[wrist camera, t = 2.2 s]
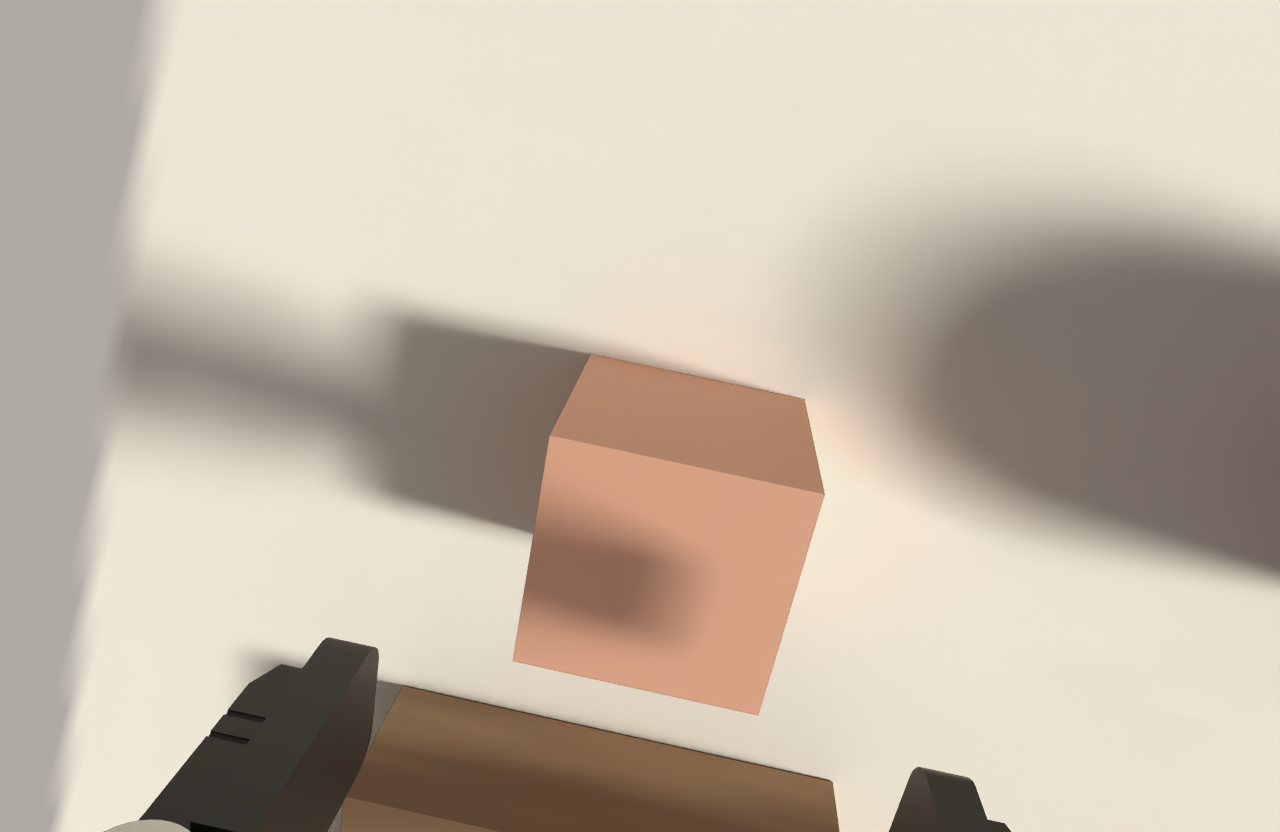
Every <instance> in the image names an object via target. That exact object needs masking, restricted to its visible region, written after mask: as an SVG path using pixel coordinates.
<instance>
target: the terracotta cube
mask: <svg viewBox="0 0 1280 832" xmlns="http://www.w3.org/2000/svg"><path fill="white" fill-rule="evenodd" d="M824 495H825V493H824V489H823V484H822V479H821V475H820V470H819V465H818V461H817V456H816V451H815V446H814V442H813V437H812V432H811V428H810V423H809V418H808V414H807V409H806V404H805V399H800V398H795V397H791V396H786V395H781V394H776V393H772V392H767V391H762V390H758V389H753V388H748V387H744V386H739V385H734V384H730V383H725V382H720V381H715V380H711V379H706V378H701V377H697V376H692V375H687V374H683V373H678V372H673V371H668V370H664V369H659V368H654V367H650V366H645V365H640V364H636V363H631V362H626V361H622V360H617V359H612V358H607V357H603V356H598V355H593V354H591V355H590V357H589V359H588V361H587V363H586V365H585V367H584V369H583V371H582V373H581V375H580V377H579V379H578V381H577V383H576V385H575V387H574V388H573V390H572V392H571V394H570V396H569V398H568V400H567V402H566V404H565V406H564V408H563V410H562V412H561V414H560V416H559V418H558V420H557V422H556V424H555V426H554V428H553V430H552V432H551V434H550V436H549V442H548V449H547V455H546V461H545V467H544V473H543V479H542V485H541V491H540V497H539V503H538V509H537V515H536V522H535V528H534V534H533V540H532V546H531V552H530V558H529V564H528V570H527V576H526V582H525V588H524V595H523V601H522V607H521V613H520V619H519V625H518V631H517V637H516V643H515V649H514V655H513V661H514V662H519V663H523V664H528V665H532V666H537V667H541V668H546V669H550V670H555V671H559V672H564V673H568V674H573V675H577V676H582V677H586V678H591V679H595V680H600V681H604V682H609V683H614V684H618V685H623V686H627V687H632V688H636V689H641V690H645V691H650V692H654V693H659V694H663V695H668V696H672V697H677V698H681V699H686V700H690V701H695V702H699V703H704V704H708V705H713V706H717V707H722V708H726V709H731V710H735V711H740V712H744V713H749V714H753V715H759V712H760V708H761V705H762V702H763V698H764V695H765V692H766V688H767V685H768V682H769V678H770V675H771V672H772V668H773V665H774V662H775V658H776V655H777V652H778V648H779V645H780V642H781V638H782V635H783V632H784V628H785V625H786V622H787V618H788V615H789V612H790V608H791V605H792V602H793V598H794V595H795V592H796V588H797V585H798V582H799V578H800V575H801V572H802V568H803V565H804V562H805V559H806V555H807V552H808V549H809V545H810V542H811V539H812V535H813V532H814V529H815V525H816V522H817V519H818V515H819V512H820V509H821V505H822V502H823V499H824Z"/></svg>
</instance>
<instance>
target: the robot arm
mask: <svg viewBox="0 0 1280 832" xmlns="http://www.w3.org/2000/svg"><path fill="white" fill-rule="evenodd" d="M378 661H379V653H378V649H377V648H376V647H371V646H366V645H362V644H357V643H352V642H348V641H343V640H339V639H334V638H326V639H324V640H323V641H322V643H321V644H320V645H319V647H318V648H317V649H316V651H315V652H314V653H313V655H312V656H311V657H310V659H309V660H308V662H307V663H306V664H305V666H304V667H303V668H302V669H300V668H296V667H291V666H287V665H282V664H280V665H279V666H277V667H275V668H274V669H272V670H271V671H269V672H267V673H266V674H264V675H262V676H261V677H259V678H257V679H256V680H254V681H252V682H251V683H249V684H248V685H247V687H246V688H245V689H244V690H243V692H242V693H241V694H240V695H239V697H238V698H237V699H236V700H235V701H234V703H233V704H232V705H231V706H230V708H229V709H228V712H227V714H226V715H223V716H222V718H221V719H220V720H219V721H218V723H217V724H216V725H215V726H214V728H213V729H212V730H211V733H210V735H209V737H207V736H206V737H205V739H204V740H203V741H202V742H201V744H200V745H199V746H198V747H197V749H196V750H195V751H194V752H193V754H192V755H191V756H190V757H189V759H188V760H187V761H186V762H185V764H184V765H183V766H182V767H181V769H180V770H179V771H178V772H177V773H176V775H175V776H174V777H173V778H172V780H171V781H170V782H169V783H168V785H167V786H166V787H165V788H164V790H163V791H162V792H161V793H160V795H159V796H158V797H157V798H156V800H155V801H154V802H153V803H152V804H151V806H150V807H149V808H148V809H147V811H146V812H145V813H144V814H143V816H142V817H141V818H140V819H139V820H138V821H134V822H129V823H125V824H122V825H119V826H116V827H113V828H111V829H109V830H106V831H104V832H327V831H328V829H329V827H330V826H331V824H332V822H333V820H334V818H335V816H336V814H337V813H338V811H339V809H340V807H341V805H342V803H343V801H344V800H345V798H346V796H347V794H348V792H349V790H350V788H351V787H352V785H353V783H354V781H355V779H356V777H357V775H358V773H359V771H360V769H361V767H362V764H363V761H364V759H365V756H366V752H367V749H368V745H369V741H370V737H371V731H372V722H373V712H374V702H375V692H376V682H377V671H378ZM889 832H1011V831H1010V830H1009V828H1008V827H1007V826H1006V825H1005V823H1000V822H996V821H991V820H987V817H986V815H985V812H984V809H983V806H982V803H981V801H980V798H979V795H978V792H977V789H976V787H975V785H974V783H973V781H972V780H971V779H970V778H968V777H963V776H959V775H954V774H950V773H945V772H940V771H936V770H931V769H926V768H922V767H917V768H915V769H914V770H913V772H912V773H911V775H910V778H909V780H908V783H907V785H906V788H905V791H904V793H903V796H902V799H901V801H900V804H899V807H898V809H897V812H896V814H895V817H894V820H893V822H892V825H891V828H890V830H889Z"/></svg>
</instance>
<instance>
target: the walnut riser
mask: <svg viewBox="0 0 1280 832" xmlns="http://www.w3.org/2000/svg"><path fill="white" fill-rule="evenodd" d="M340 832H839V825H838V818H837V811H836V803H835V796H834V789H833V782H831V781H826V780H822V779H817V778H813V777H808V776H804V775H799V774H795V773H790V772H786V771H781V770H777V769H773V768H768V767H764V766H759V765H755V764H750V763H746V762H741V761H737V760H732V759H728V758H723V757H719V756H714V755H710V754H705V753H701V752H696V751H692V750H687V749H683V748H679V747H674V746H670V745H665V744H661V743H656V742H652V741H647V740H643V739H638V738H634V737H629V736H625V735H620V734H616V733H611V732H607V731H602V730H598V729H593V728H589V727H585V726H580V725H576V724H571V723H567V722H562V721H558V720H553V719H549V718H544V717H540V716H535V715H531V714H526V713H522V712H517V711H513V710H508V709H504V708H499V707H495V706H491V705H486V704H482V703H477V702H473V701H468V700H464V699H459V698H455V697H450V696H446V695H441V694H437V693H432V692H428V691H423V690H419V689H414V688H410V687H406V686H403V687H402V688H401V690H400V692H399V694H398V696H397V698H396V699H395V701H394V703H393V705H392V707H391V709H390V711H389V712H388V714H387V716H386V718H385V720H384V722H383V723H382V725H381V727H380V729H379V731H378V733H377V735H376V736H375V738H374V740H373V742H372V744H371V746H370V747H369V749H368V751H367V753H366V756H365V759H364V761H363V764H362V767H361V769H360V771H359V773H358V775H357V777H356V779H355V781H354V783H353V785H352V787H351V788H350V790H349V792H348V794H347V796H346V798H345V800H344V801H343V804H342V816H341V828H340Z"/></svg>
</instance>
